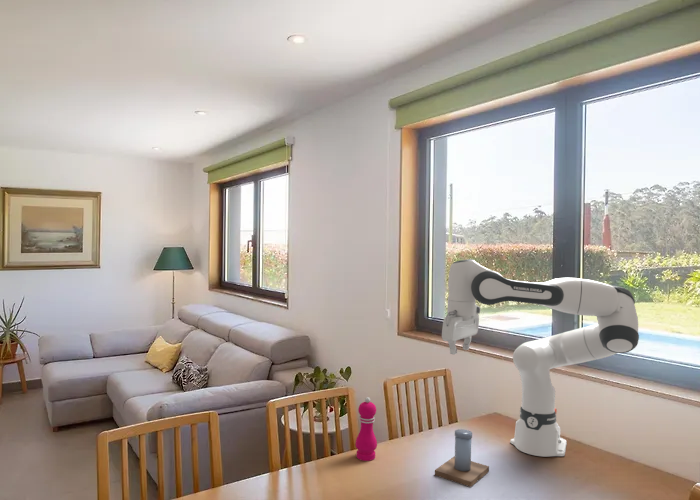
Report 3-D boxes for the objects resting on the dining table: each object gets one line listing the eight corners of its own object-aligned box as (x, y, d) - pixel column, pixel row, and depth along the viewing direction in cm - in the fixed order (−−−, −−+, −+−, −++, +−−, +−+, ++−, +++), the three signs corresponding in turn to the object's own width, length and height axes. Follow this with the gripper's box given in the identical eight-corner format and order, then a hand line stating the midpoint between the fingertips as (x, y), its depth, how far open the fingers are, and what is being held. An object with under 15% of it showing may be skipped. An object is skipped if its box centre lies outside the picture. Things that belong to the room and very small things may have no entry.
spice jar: (457, 463, 166) (458, 428, 166) (473, 467, 163) (474, 431, 163) (450, 468, 161) (451, 432, 162) (467, 473, 158) (468, 436, 159)
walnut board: (454, 460, 171) (454, 456, 171) (489, 471, 164) (489, 466, 164) (434, 475, 160) (434, 470, 160) (470, 487, 153) (471, 481, 153)
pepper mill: (374, 462, 168) (376, 401, 168) (353, 460, 169) (355, 399, 169) (378, 454, 175) (380, 395, 175) (357, 451, 176) (359, 393, 176)
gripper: (456, 313, 157) (454, 358, 157) (482, 307, 173) (481, 348, 173) (437, 310, 161) (436, 355, 161) (465, 305, 177) (463, 346, 177)
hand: (459, 351), depth 167 cm, fingers open, 8 cm apart
